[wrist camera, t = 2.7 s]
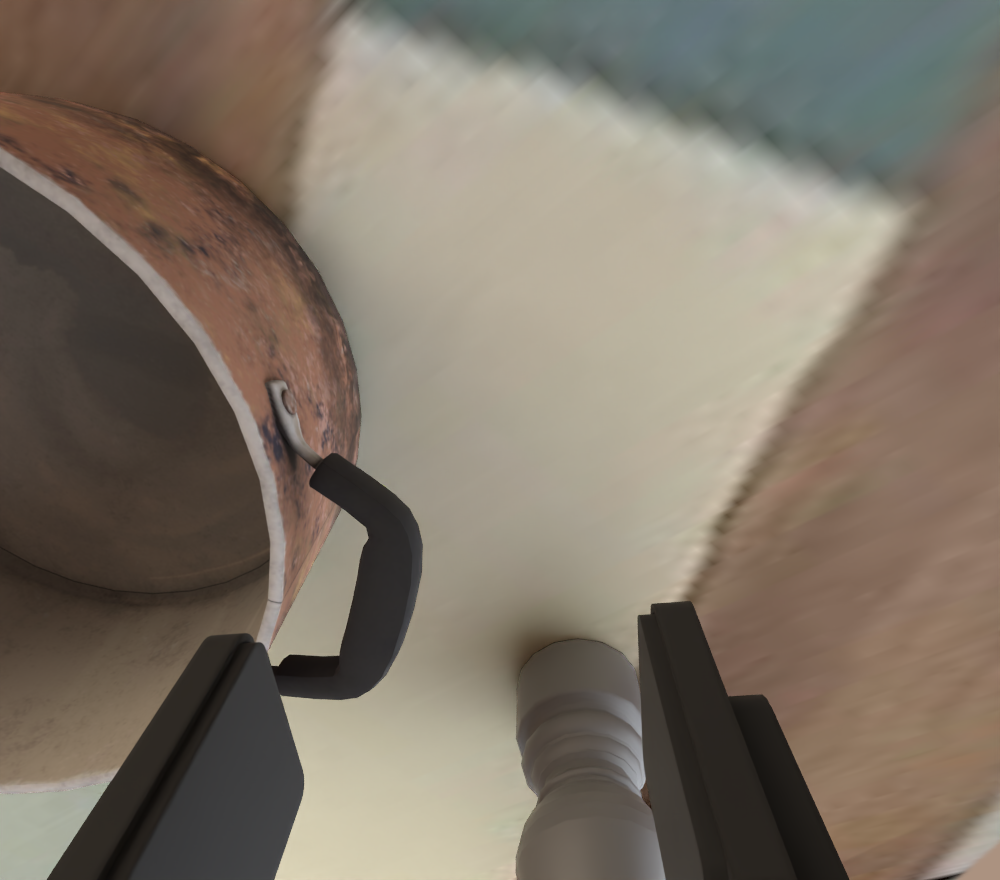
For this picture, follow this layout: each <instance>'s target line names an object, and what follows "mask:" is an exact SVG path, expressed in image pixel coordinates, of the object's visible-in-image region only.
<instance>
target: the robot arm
mask: <svg viewBox="0 0 1000 880" xmlns="http://www.w3.org/2000/svg"><path fill="white" fill-rule="evenodd" d="M638 646H639V672H640V697H641V723H642V749H643V762H644V770H645V777H646V782H647V788H648V793H649V798H650V803H651V808H652V813H653V818H654V823H655V828H656V833H657V838H658V843H659V848H660V853H661V858H662V863H663V868H664V873H665V878H666V880H849V878H848V876H847V873H846V871H845V869H844V867H843V864H842V862H841V860H840V858H839V856H838V853H837V851H836V849H835V847H834V845H833V842H832V840H831V838H830V836H829V833H828V831H827V829H826V827H825V825H824V822H823V820H822V818H821V816H820V814H819V811H818V809H817V807H816V805H815V802H814V800H813V798H812V796H811V794H810V791H809V789H808V787H807V785H806V782H805V780H804V778H803V776H802V774H801V771H800V769H799V767H798V765H797V763H796V760H795V758H794V756H793V754H792V751H791V749H790V747H789V745H788V743H787V740H786V738H785V736H784V734H783V732H782V729H781V727H780V725H779V723H778V720H777V718H776V716H775V714H774V712H773V709H772V707H771V706H770V704H769V702H768V700H767V699H766V698H765V697H764V696H763V695H746V696H730V697H728V695H727V693H726V690H725V688H724V685H723V682H722V680H721V677H720V674H719V672H718V669H717V666H716V664H715V661H714V659H713V656H712V653H711V651H710V648H709V645H708V643H707V640H706V638H705V635H704V632H703V630H702V627H701V624H700V622H699V619H698V616H697V614H696V611H695V609H694V606H693V604H692V602H690V601H685V602H671V603H657V604H652V605H651V614H649V615H638ZM303 790H304V774H303V770H302V766H301V763H300V760H299V756H298V753H297V750H296V746H295V743H294V740H293V737H292V733H291V730H290V727H289V723H288V720H287V717H286V713H285V710H284V707H283V703H282V700H281V697H280V694H279V690H278V687H277V684H276V680H275V677H274V674H273V670H272V667H271V664H270V660H269V657H268V654H267V650H266V648H265V646H264V644H263V643H261V642H255V641H254V639H253V637H252V636H251V635H250V634H248V633H238V634H224V635H211V636H209V637H207V638H206V639H205V640H204V641H203V642H202V644H201V645H200V647H199V648H198V650H197V651H196V653H195V654H194V656H193V657H192V659H191V660H190V662H189V663H188V665H187V666H186V668H185V670H184V671H183V673H182V674H181V676H180V677H179V679H178V680H177V682H176V683H175V685H174V686H173V688H172V689H171V691H170V692H169V694H168V695H167V697H166V699H165V700H164V702H163V703H162V705H161V706H160V708H159V709H158V711H157V712H156V714H155V715H154V717H153V718H152V720H151V721H150V723H149V724H148V726H147V727H146V729H145V731H144V732H143V734H142V735H141V737H140V738H139V740H138V741H137V743H136V744H135V746H134V747H133V749H132V750H131V752H130V753H129V755H128V756H127V758H126V759H125V761H124V763H123V764H122V766H121V767H120V769H119V770H118V772H117V773H116V775H115V776H114V778H113V779H112V781H111V782H110V784H109V785H108V787H107V788H106V790H105V791H104V793H103V795H102V796H101V798H100V799H99V801H98V802H97V804H96V805H95V807H94V808H93V810H92V811H91V813H90V814H89V816H88V817H87V819H86V820H85V822H84V823H83V825H82V827H81V828H80V830H79V831H78V833H77V834H76V836H75V837H74V839H73V840H72V842H71V843H70V845H69V846H68V848H67V849H66V851H65V852H64V854H63V855H62V857H61V859H60V860H59V862H58V863H57V865H56V866H55V868H54V869H53V871H52V872H51V874H50V875H49V877H48V878H47V880H274V879H275V876H276V873H277V870H278V867H279V864H280V861H281V858H282V855H283V852H284V849H285V847H286V844H287V841H288V838H289V835H290V832H291V829H292V826H293V823H294V820H295V817H296V814H297V811H298V809H299V806H300V803H301V800H302V796H303Z"/></svg>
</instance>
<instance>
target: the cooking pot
mask: <svg viewBox="0 0 1000 880" xmlns="http://www.w3.org/2000/svg"><path fill="white" fill-rule="evenodd" d="M360 426H361V407H360V398H359V388H358V378H357V369H356V366H355V362H354V359H353V355H352V352H351V348H350V345H349V342H348V338H347V335H346V331H345V328H344V324H343V321H342V319H341V317H340V315H339V313H338V311H337V309H336V306H335V304H334V302H333V300H332V298H331V296H330V294H329V292H328V290H327V288H326V286H325V284H324V282H323V280H322V278H321V276H320V274H319V272H318V270H317V269H316V268H315V266H314V265H313V263H312V262H311V261H310V259H309V258H308V257H307V255H306V254H305V252H304V251H303V250H302V248H301V247H300V246H299V244H298V243H297V241H296V240H295V239H294V237H293V236H292V235H291V233H290V232H289V230H288V229H287V228H286V226H285V225H284V224H283V223H282V222H281V221H280V220H279V219H278V218H277V217H276V216H275V215H274V214H273V213H272V212H271V211H270V210H269V209H268V208H267V207H266V206H265V205H264V204H263V203H262V202H261V201H260V200H259V199H258V198H257V197H256V196H255V195H254V194H253V193H252V192H251V191H250V190H249V189H248V188H247V187H246V186H245V185H244V184H243V183H242V182H240V181H239V180H237V179H236V178H235V177H233V176H232V175H230V174H229V173H228V172H226V171H225V170H223V169H222V168H221V167H219V166H218V165H216V164H215V163H214V162H212V161H211V160H209V159H208V158H207V157H205V156H204V155H203V154H201V153H200V152H198V151H197V150H196V149H194V148H193V147H191V146H189V145H187V144H185V143H183V142H181V141H179V140H177V139H175V138H173V137H171V136H169V135H167V134H165V133H163V132H161V131H159V130H157V129H155V128H153V127H151V126H149V125H147V124H145V123H142V122H140V121H138V120H136V119H133V118H129V117H126V116H122V115H119V114H115V113H112V112H108V111H105V110H101V109H98V108H94V107H91V106H87V105H84V104H80V103H76V102H72V101H67V100H63V99H58V98H49V97H41V96H32V95H23V94H14V93H5V92H0V793H1V794H18V793H37V792H56V791H67V790H72V789H77V788H82V787H86V786H91V785H96V784H101V783H106V782H111V781H112V779H113V778H114V776H115V775H116V773H117V772H118V770H119V769H120V767H121V766H122V764H123V763H124V761H125V759H126V758H127V756H128V755H129V753H130V752H131V750H132V749H133V747H134V746H135V744H136V743H137V741H138V740H139V738H140V737H141V735H142V734H143V732H144V731H145V729H146V727H147V726H148V724H149V723H150V721H151V720H152V718H153V717H154V715H155V714H156V712H157V711H158V709H159V708H160V706H161V705H162V703H163V702H164V700H165V699H166V697H167V695H168V694H169V692H170V691H171V689H172V688H173V686H174V685H175V683H176V682H177V680H178V679H179V677H180V676H181V674H182V673H183V671H184V670H185V668H186V666H187V665H188V663H189V662H190V660H191V659H192V657H193V656H194V654H195V653H196V651H197V650H198V648H199V647H200V645H201V644H202V642H203V641H204V640H205V639H206V638H207V637H209V636H211V635H224V634H238V633H248V634H250V635H251V636H252V637H253V639H254V641H255V642H261V643H263V644H264V646H265V648H266V650H267V652H268V650H269V648H270V646H271V644H272V642H273V640H274V638H275V636H276V635H277V633H278V631H279V629H280V627H281V625H282V623H283V621H284V619H285V617H286V615H287V613H288V611H289V609H290V607H291V606H292V604H293V602H294V600H295V598H296V596H297V594H298V592H299V590H300V588H301V586H302V584H303V582H304V580H305V578H306V576H307V575H308V573H309V571H310V569H311V567H312V565H313V563H314V561H315V559H316V557H317V555H318V553H319V551H320V549H321V547H322V546H323V544H324V542H325V540H326V538H327V536H328V534H329V532H330V530H331V528H332V526H333V524H334V522H335V520H336V518H337V516H338V515H339V513H340V510H341V508H343V509H344V510H346V511H347V512H348V513H349V514H350V515H352V516H353V517H354V518H355V519H356V520H358V521H359V522H360V523H361V524H363V525H364V526H365V527H366V528H367V532H368V537H369V539H368V540H367V542H366V544H365V545H364V547H363V550H362V554H361V558H360V563H359V570H358V576H357V581H356V586H355V591H354V596H353V600H352V605H351V609H350V613H349V618H348V622H347V626H346V630H345V633H344V636H343V640H342V644H341V649H340V656H324V657H323V656H306V655H289V656H287V657H286V658H284V659H283V661H282V662H281V664H280V665H279V666H271V667H272V670H273V674H274V677H275V680H276V684H277V687H278V690H279V693H280V695H281V696H291V697H301V698H312V699H331V700H344V699H351V698H357V697H359V696H361V695H363V694H365V693H366V692H368V691H370V690H371V689H372V688H374V687H375V686H376V685H377V684H378V683H379V682H380V681H381V680H382V679H383V678H384V677H385V676H386V674H387V672H388V671H389V669H390V667H391V665H392V663H393V662H394V660H395V658H396V656H397V654H398V652H399V650H400V648H401V646H402V643H403V641H404V638H405V635H406V632H407V629H408V626H409V623H410V620H411V617H412V614H413V610H414V607H415V602H416V597H417V593H418V588H419V583H420V578H421V573H422V548H423V544H422V540H421V535H420V531H419V526H418V524H417V522H416V520H415V518H414V516H413V514H412V512H411V510H410V509H409V508H408V507H407V506H406V505H405V504H404V503H403V502H402V501H401V500H400V499H399V498H398V497H397V496H396V495H395V494H394V493H392V492H391V491H390V490H388V489H387V488H386V487H384V486H383V485H382V484H380V483H379V482H378V481H376V480H375V479H373V478H372V477H371V476H369V475H368V474H367V473H365V472H364V471H362V470H361V469H359V468H358V467H356V466H355V465H356V462H357V457H358V447H359V436H360Z"/></svg>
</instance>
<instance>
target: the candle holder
mask: <svg viewBox="0 0 1000 880" xmlns="http://www.w3.org/2000/svg"><path fill="white" fill-rule="evenodd" d="M516 739H517V742H518V746H519V749H520V752H521V756H522V763H521V764H522V768H523V772H524V775H525V778H526V781H527V785H528V786H529V788H530V789H531V790H532V791H533V792H534V793H535V794H536V795H537V797H538V801H537V805H536V808H535V809H534V810H533V811H532V813H531V814H530V816H529V818H528V819H527V821H526V823H525V825H524V829H523V832H522V836H521V839H520V843H519V847H518V851H517V855H516V876H517V880H666V878H665V873H664V868H663V863H662V858H661V853H660V848H659V843H658V838H657V833H656V828H655V823H654V818H653V813H652V810H651V809H650V807H649V806H648V805H647V804H646V803H645V802H644V801H643V800H642V796H641V791H640V790H641V789H642V788H643V786H644V783H645V780H646V777H645V770H644V762H643V749H642V723H641V697H640V690H639V685H638V680H637V676H636V671H635V668H634V667H633V666H632V665H631V663H630V662H629V661H628V660H627V658H626V657H625V656H624V655H623V653H621V652H619V651H617V650H616V649H614V648H612V647H610V646H608V645H606V644H604V643H602V642H596V641H590V640H583V639H574V640H568V641H562V642H556V643H553V644H551V645H549V646H547V647H545V648H544V649H542V650H540V651H538V652H536V653H534V654H533V656H532V657H531V658H530V659H529V660H528V662H527V663H526V664H525V665H524V667H523V668H522V669H521V672H520V676H519V681H518V685H517V725H516Z"/></svg>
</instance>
